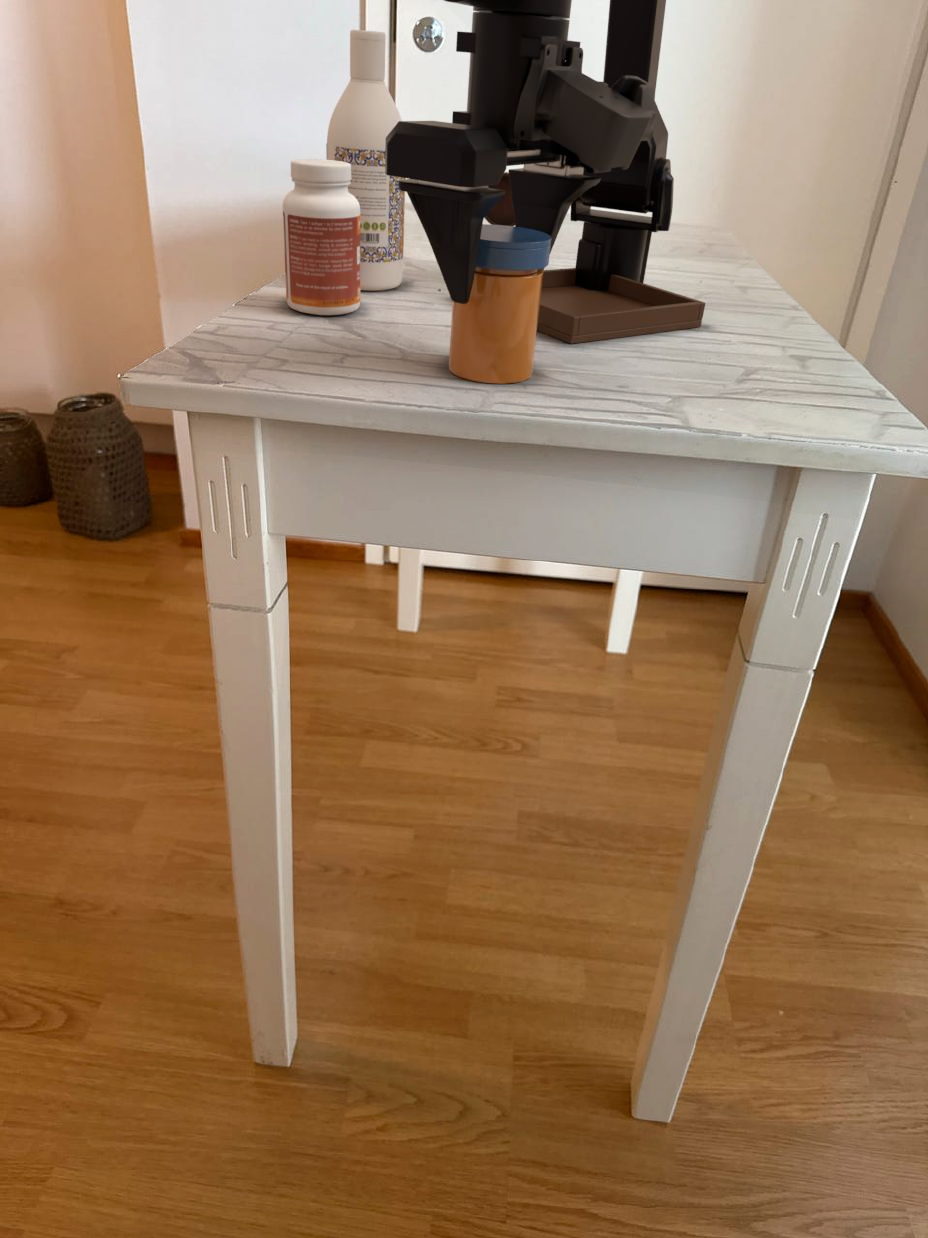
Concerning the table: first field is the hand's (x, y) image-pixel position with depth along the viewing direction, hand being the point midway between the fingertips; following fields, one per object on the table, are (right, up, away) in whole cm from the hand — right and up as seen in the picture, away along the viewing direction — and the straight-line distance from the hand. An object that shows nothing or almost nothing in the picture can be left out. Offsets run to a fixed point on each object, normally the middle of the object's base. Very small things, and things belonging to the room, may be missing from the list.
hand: (497, 291), depth 61 cm
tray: (+8, +5, +20) cm, 22 cm away
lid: (0, +3, -2) cm, 3 cm away
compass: (+3, +24, +48) cm, 54 cm away
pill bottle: (-14, +4, +15) cm, 21 cm away
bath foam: (-12, +9, +24) cm, 28 cm away
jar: (0, -5, +3) cm, 6 cm away
